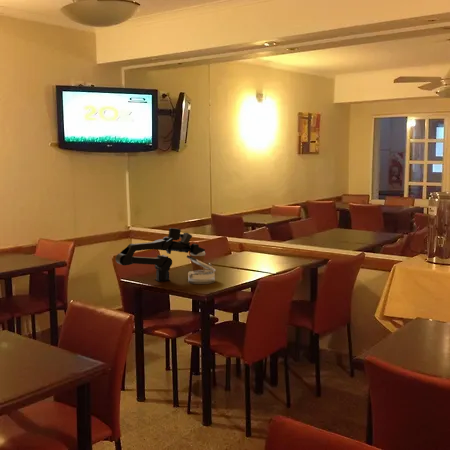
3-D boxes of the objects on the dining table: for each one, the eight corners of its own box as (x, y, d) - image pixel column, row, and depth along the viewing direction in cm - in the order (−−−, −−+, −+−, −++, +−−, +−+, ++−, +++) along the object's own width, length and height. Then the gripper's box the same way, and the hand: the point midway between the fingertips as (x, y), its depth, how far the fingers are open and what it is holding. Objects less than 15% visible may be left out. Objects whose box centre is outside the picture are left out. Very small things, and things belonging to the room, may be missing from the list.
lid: (195, 259, 317) (197, 254, 317) (182, 255, 329) (184, 251, 329) (219, 273, 326) (222, 268, 327) (205, 268, 339) (207, 264, 339)
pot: (196, 285, 318) (196, 276, 318) (182, 280, 331) (182, 271, 331) (220, 282, 327) (220, 273, 326) (205, 277, 340) (205, 269, 339)
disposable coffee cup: (187, 271, 358) (187, 251, 357) (195, 268, 367) (195, 249, 365) (200, 272, 354) (200, 253, 352) (208, 269, 362) (208, 250, 361)
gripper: (187, 234, 326) (210, 237, 335) (172, 231, 342) (194, 234, 350) (184, 253, 326) (208, 256, 335) (169, 249, 342) (192, 252, 350)
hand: (200, 249), depth 343 cm, fingers open, 9 cm apart
